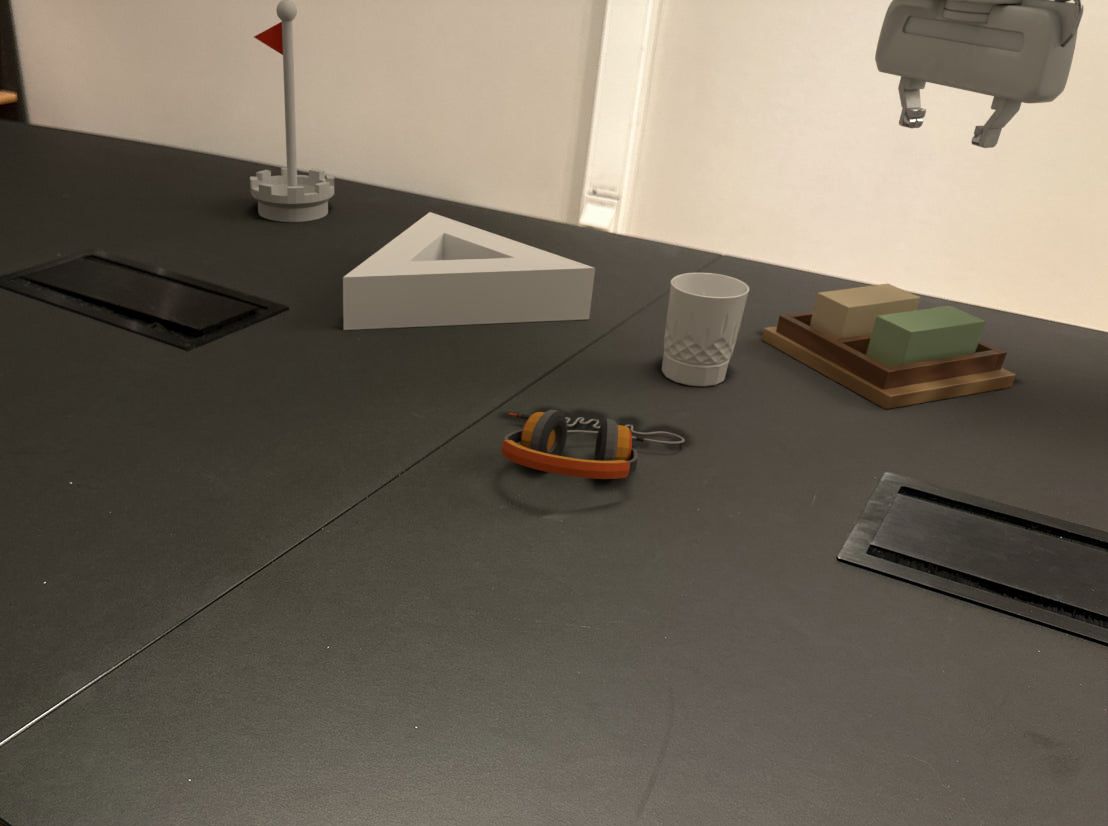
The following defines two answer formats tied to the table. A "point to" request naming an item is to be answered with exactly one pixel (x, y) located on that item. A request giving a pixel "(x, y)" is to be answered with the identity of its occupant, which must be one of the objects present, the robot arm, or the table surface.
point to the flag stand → (289, 146)
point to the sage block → (923, 335)
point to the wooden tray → (880, 381)
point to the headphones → (548, 439)
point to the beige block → (858, 309)
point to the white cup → (702, 327)
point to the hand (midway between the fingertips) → (945, 136)
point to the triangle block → (462, 281)
